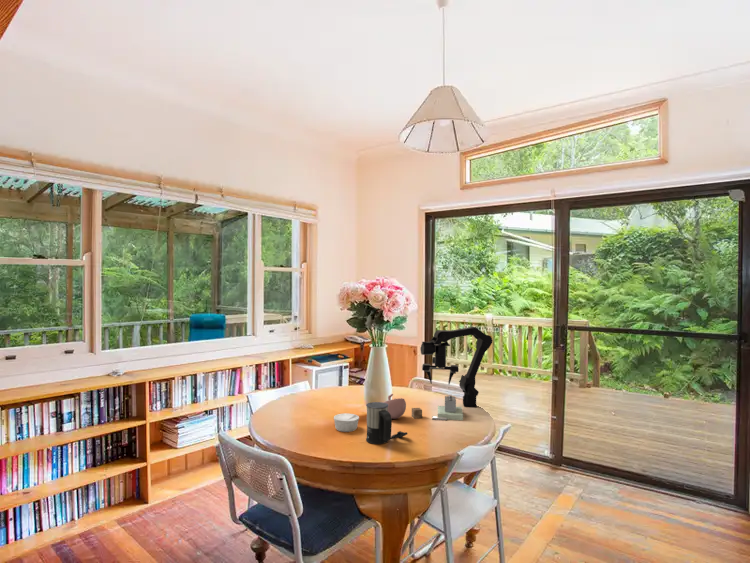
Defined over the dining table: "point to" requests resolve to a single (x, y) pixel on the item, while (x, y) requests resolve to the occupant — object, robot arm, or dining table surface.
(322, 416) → the dining table surface
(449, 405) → the block
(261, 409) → the dining table surface
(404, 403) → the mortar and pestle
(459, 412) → the pale green flat slab
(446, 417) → the steel pin
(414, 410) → the walnut block
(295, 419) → the dining table surface
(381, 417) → the milk frother
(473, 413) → the dining table surface
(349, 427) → the ramekin
